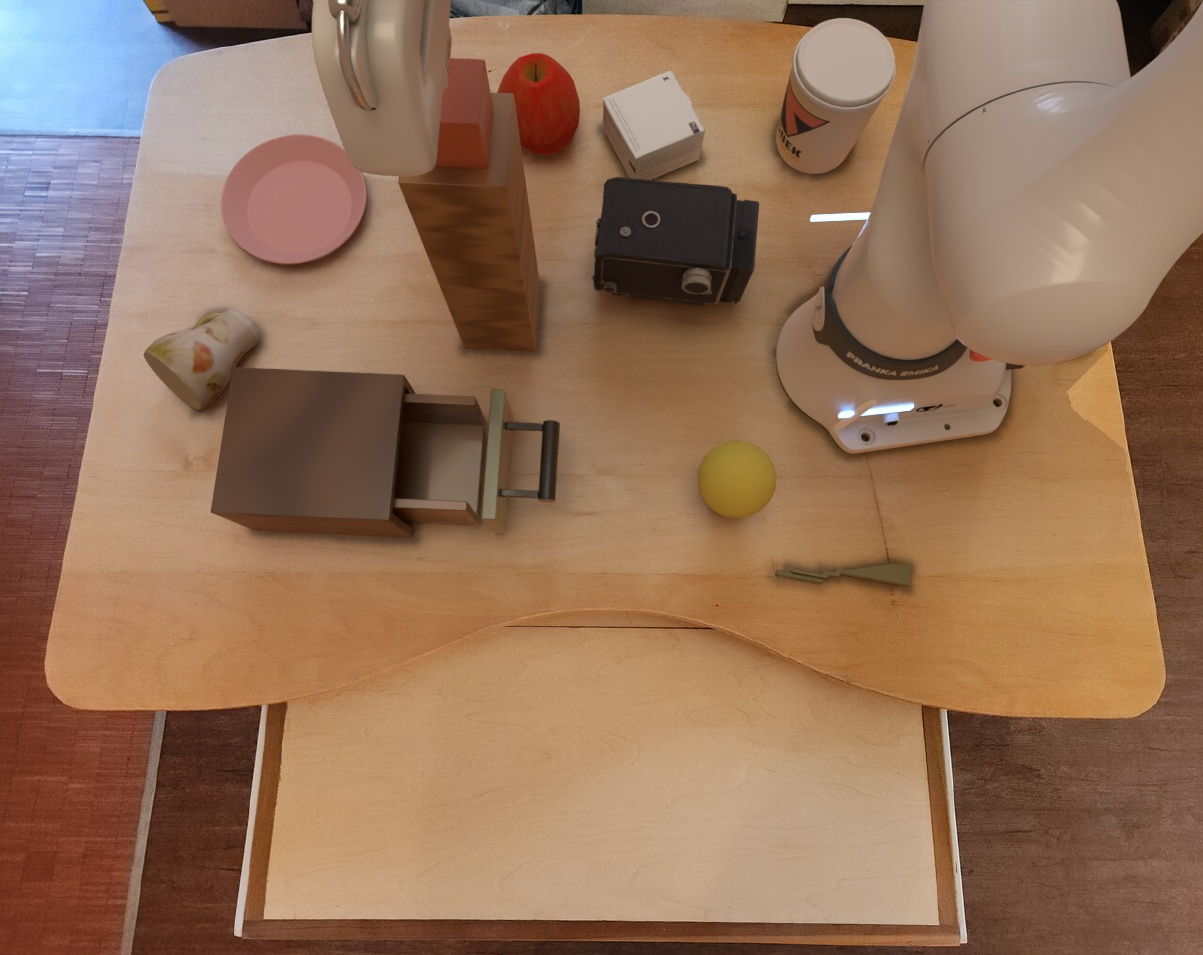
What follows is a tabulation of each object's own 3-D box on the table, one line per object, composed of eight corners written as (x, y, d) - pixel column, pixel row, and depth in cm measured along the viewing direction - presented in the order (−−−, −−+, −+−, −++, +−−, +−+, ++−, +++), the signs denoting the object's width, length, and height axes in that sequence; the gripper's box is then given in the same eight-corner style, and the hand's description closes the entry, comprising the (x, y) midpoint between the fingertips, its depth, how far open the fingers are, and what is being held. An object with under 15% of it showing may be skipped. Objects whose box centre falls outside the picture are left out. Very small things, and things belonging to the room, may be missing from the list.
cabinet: (425, 407, 79) (404, 374, 70) (413, 538, 76) (389, 520, 67) (273, 400, 79) (232, 366, 70) (254, 530, 76) (210, 512, 67)
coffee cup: (755, 114, 86) (781, 27, 75) (840, 94, 87) (878, 4, 75) (783, 190, 84) (814, 114, 73) (869, 170, 85) (913, 90, 73)
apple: (491, 159, 85) (477, 87, 74) (516, 93, 87) (506, 14, 76) (567, 180, 84) (563, 111, 74) (591, 113, 86) (590, 36, 76)
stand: (540, 285, 82) (513, 92, 54) (535, 351, 80) (506, 187, 53) (469, 282, 82) (408, 88, 54) (464, 348, 80) (397, 182, 53)
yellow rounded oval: (745, 451, 78) (767, 420, 68) (770, 518, 77) (796, 495, 67) (679, 472, 77) (691, 444, 68) (702, 540, 76) (718, 520, 66)
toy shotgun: (908, 564, 76) (912, 563, 75) (909, 586, 75) (913, 585, 74) (774, 561, 76) (776, 560, 75) (775, 583, 75) (777, 582, 74)
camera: (594, 324, 82) (746, 331, 80) (580, 270, 71) (757, 277, 69) (603, 228, 84) (751, 232, 83) (591, 161, 73) (762, 165, 72)
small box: (600, 128, 86) (601, 95, 81) (668, 101, 87) (672, 66, 82) (632, 189, 84) (635, 159, 79) (701, 161, 85) (708, 129, 80)
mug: (289, 339, 80) (232, 353, 71) (234, 409, 83) (172, 431, 74) (230, 285, 80) (165, 292, 70) (177, 357, 82) (107, 373, 73)
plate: (400, 206, 84) (396, 195, 82) (294, 300, 81) (287, 291, 79) (306, 121, 86) (299, 108, 84) (200, 210, 83) (190, 199, 81)
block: (493, 108, 54) (484, 59, 50) (488, 169, 53) (479, 124, 49) (425, 105, 54) (410, 55, 50) (418, 166, 53) (403, 120, 49)
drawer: (563, 416, 78) (560, 391, 71) (556, 536, 75) (553, 522, 68) (370, 408, 78) (347, 382, 71) (357, 527, 75) (332, 512, 68)
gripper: (426, 42, 28) (480, 247, 41) (470, -401, 32) (505, -86, 46) (239, 35, 28) (354, 243, 41) (309, -407, 32) (392, -91, 46)
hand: (434, 67), depth 44 cm, fingers closed
